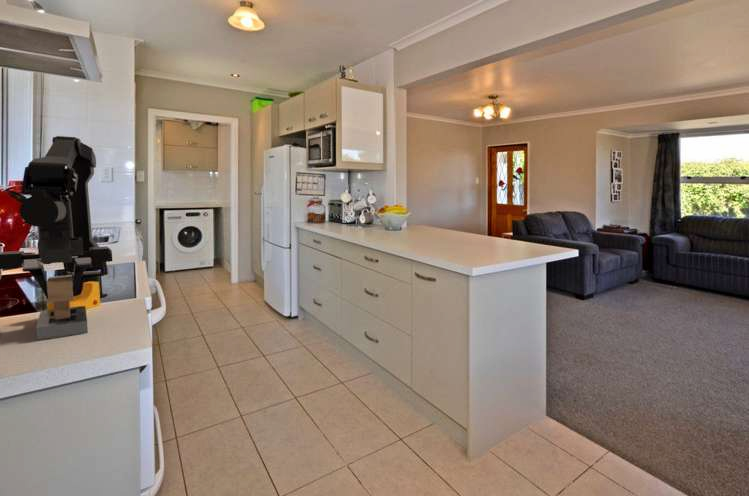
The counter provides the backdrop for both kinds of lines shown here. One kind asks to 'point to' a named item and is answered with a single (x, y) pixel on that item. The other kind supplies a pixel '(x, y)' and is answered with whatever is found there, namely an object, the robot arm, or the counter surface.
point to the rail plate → (61, 324)
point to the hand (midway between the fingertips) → (61, 297)
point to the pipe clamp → (84, 297)
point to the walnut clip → (60, 295)
